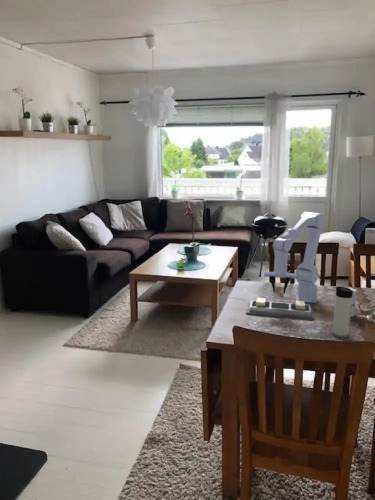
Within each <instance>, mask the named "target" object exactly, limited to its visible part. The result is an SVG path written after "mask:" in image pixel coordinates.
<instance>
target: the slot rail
mask: <svg viewBox="0 0 375 500" xmlns="http://www.w3.org/2000/svg"><path fill="white" fill-rule="evenodd" d="M246 307H247V308H246V312H245V314H246V315H253V316H263V317H273V318H274V317H275V318H286V319H299V320H310V321H315V320H316V317H315V312H314V308H313V307H311V304H309V303H308V304H307V303H306V302H304V301H297V300H295V301H294V303H293V302H280V301H268V300H267V299H266V298H263V297H256V299H251V300H250V302H248V303H247V306H246Z"/></svg>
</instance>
